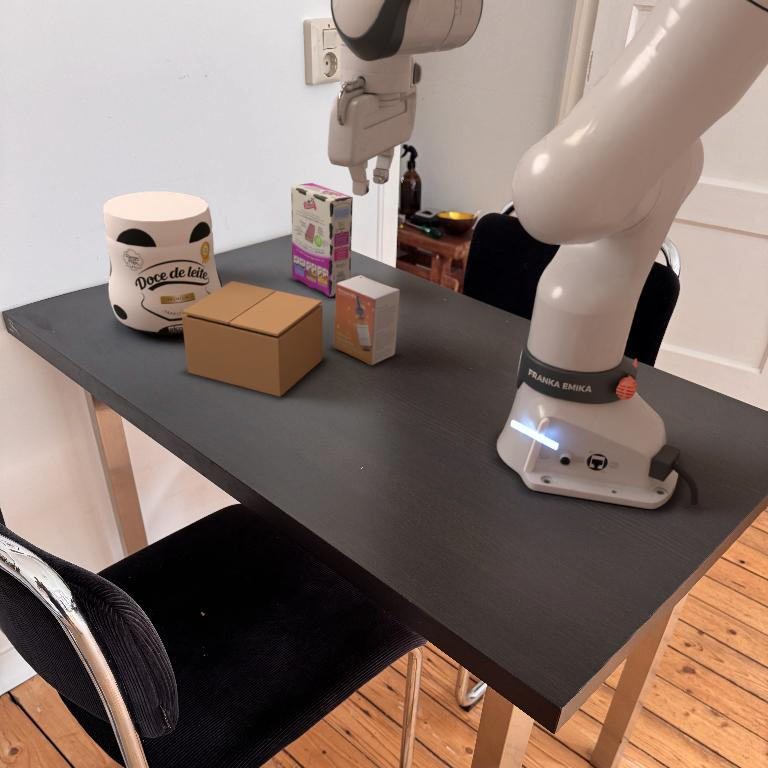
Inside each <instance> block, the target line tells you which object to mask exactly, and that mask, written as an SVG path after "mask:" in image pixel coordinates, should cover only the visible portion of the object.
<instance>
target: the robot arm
mask: <svg viewBox="0 0 768 768" xmlns="http://www.w3.org/2000/svg"><path fill="white" fill-rule="evenodd" d="M483 9H484V0H330V12H331V18H332V21H333V24H334V27H335V30H336V32H337V34H338V36H339V37H340V62H339V63H340V65H339V66H340V70H339V71H340V72H339V73H340V74H339V86H340V87H341V89H340V91H339V93H338V94H337V95H336V97H335V98H334V99H333V101H332V103H331V107H330V111H329V112H330V113H329V122H328V136H327V140H328V141H327V157H328V160H329V162H330V164H331V165H333V166H338V167H343V168H348V172H349V174H350V178H351V181H352V188H351V189H352V190H351V191H352V194H353V195H354V196H360V197H363V196H365V195H367V194H368V193H369V192H370V179H368V176H367V169H368V166H369V161H370V160H372V159H374V158H376V163H375V168H374V169H372V181H373V183H374V184H376V185H377V184H378V185H385V184H387V183H388V182H389V180H390V169H391V166H392V162H393V160H394V156H395V148H396V147H398V146H400V145H402V144H404V143H405V142H408V141H409V140H411V137H412V134H413V131H414V128H415V122H416V121H415V120H416V115H417V106H418V105H417V104H418V87H417V85H419V84H421V82H422V79H423V66H422V64H420V62H418V61H417V60H415V58H414V57H413V55H420V54H421V55H422V54H423V55H424V54H429V53H430V54H431V53H439V52H441V53H442V52H448V51H452V50H454V49H457V48H458V49H459V48H461V47H463V46H465V45H467V44H468V42H469V41H470V40H471V39H472V38H473V37H474V35H475V33H476V31H477V30H478V27H479V24H480V21H481V19H482V16H483V15H482V14H483ZM767 66H768V0H657V1H656V3H655V4H654V6H653V7H652V9H651V11H650V12H649V14H648V16H646V18H645V20H644V22H643V23H642V25H641V26H640V27H639V29H638V30H637V32H636V33H635V34H634V36H633V37H632V39H630V41H629V43H627V45H626V46H625V47H624V48H623V50H622V51H621V53H619V54H618V55H617V57H616V58H615V59H614V60H613V62H612V63H611V64H610V65H609V66H608V67H607V68H606V69H605V71H604V72H603V73H602V74H601V75H600V76H599V77H598V78H597V80H596V81H595V82H594V83H593V84H591V86H590V88H589V89H588V90H587V91H586V92H585V94H583V96H582V97H581V98H580V99H579V100H578V101H577V103H576V104H575V105H574V106H573V107H572V108H571V109H570V111H569V112H568V113H567V114H566V115H565V116H564V117H563V119H562V120H561V121H560V122H559V123H558V124H557V125H556V126H555V127H554V128H552V129H551V130H550V132H549V133H547V134H546V135H545V136H543V137H542V138H541V139H540V140H538V141H537V142H536V143H535V144H533V145H532V146H531V147H529V148H528V150H526V151H525V152H524V154H523V155H522V157H521V158H520V160H519V161H518V164H517V165H516V168H515V171H514V175H513V178H512V183H511V184H512V185H511V198H512V199H511V200H512V205H513V208H514V212H515V215H516V217H517V219H518V221H519V223H520V225H521V226H522V228H523V229H524V230H525V231H526V232H527V234H529V235H530V236H531V237H532V238H534V239H535V240H536V241H538V242H541V243H544V244H548V245H556V246H559V248H558V250H557V252H556V253H555V255H554V257H553V258H552V259H551V261H550V262H549V263H548V264H547V266H546V267H545V268H544V270H543V272H542V274H541V275H540V278H539V280H538V283H537V286H536V293H535V299H534V302H533V303H534V304H533V309H532V315H531V321H530V325H529V326H530V327H529V332H528V338H527V339H526V341H525V343H523V346H522V349H521V352H520V357H519V362H518V367H517V373H516V388H517V389H516V394H515V397H514V399H513V400H514V401H513V403H512V407H511V410H510V413H509V414H508V416H507V417H508V418H507V420H506V422H505V424H504V427H503V429H502V431H501V432H500V434H499V436H498V438H497V441H496V451H497V454H498V456H499V457H500V459H501V461H503V462H504V463H505V464H506V465H507V466H508V467H510V468H511V469H512V470H513V471H514V472H516V473H517V474H518V475H519V476H520V478H521V479H522V481H523V483H524V485H525V486H526V487H527V488H528V489H530V490H532V491H535V492H539V493H547V494H552V495H558V496H564V497H571V498H578V499H584V500H590V501H597V502H603V503H610V504H616V505H620V506H621V505H622V506H627V507H633V508H639V509H646V510H647V509H648V510H655V509H657V508H660V507H662V506H664V505H665V504H666V503H667V502H668V501H669V500H670V499H671V497H672V496H673V495H674V493H675V490H676V486H677V483H678V477H679V476H680V478H682V479H683V480H684V481H685V483H686V484H687V485H688V488H689V492H690V493H689V494H690V495H689V498H690V499H689V500H690V501H689V502H690V503H689V504H690V506H693V507H694V506H698V505H699V489H698V485H697V483H696V482H695V480H694V478H693V477H692V475H690V474H689V472H687V470H685V469H684V468H683V467H682V466H681V465H679V463H678V461H679V458H680V456H681V453H682V450H681V449H680V448H677V447H674V446H671V445H669V444H667V433H666V426H665V422H664V420H663V419H662V417H661V416H660V415H659V413H657V411H655V410H654V408H652V407H651V406H650V405H649V404H648V403H647V402H646V401H645V400H644V399H643V398H642V396H640V395H639V393H638V392H637V391H636V390H637V387H638V383H637V377H638V372H639V371H638V359H637V358H634V360H633V362H631V361H630V360H629V358H628V357H627V356H626V355H625V354H624V353H625V350H626V346H627V341H628V339H629V335H630V331H631V327H632V324H633V320H634V317H635V312H636V310H637V306H638V302H639V299H640V296H641V294H642V291H643V288H644V286H645V284H646V281H647V279H648V276H649V274H650V272H651V270H652V268H653V265H654V264H655V262H656V259H657V258H658V256H659V253H660V251H661V249H662V247H663V245H664V243H665V240H666V238H667V236H668V234H669V232H670V229H671V227H672V225H673V223H674V221H675V220H676V219H675V218H676V217H677V215H678V213H679V211H680V210H681V208H682V206H683V204H684V203H685V202H686V200H687V199H688V197H689V195H690V194H691V193H692V192H693V190H694V189H695V188H696V186H697V184H698V183H699V180H700V178H701V176H702V173H703V169H704V162H705V153H704V152H705V151H704V146H703V142H702V139H701V137H702V136H703V135H704V134H705V133H706V132H707V131H708V130H709V129H710V128H711V127H712V126H713V125H715V123H717V122H718V121H719V120H720V119H722V118H723V117H724V116H725V115H727V114H728V113H729V112H730V111H732V109H733V108H735V106H736V105H738V103H739V102H740V101H741V99H742V98H743V97H744V96H745V95H746V93H747V92H748V91H749V89H750V88H751V87H752V86H753V84H754V83H755V82H756V80H757V79H758V78H759V76H760V75H761V74H762V72H763V71H764V70H765V69H766V68H767Z"/></svg>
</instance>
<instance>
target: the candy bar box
mask: <svg viewBox="0 0 768 768" xmlns="http://www.w3.org/2000/svg"><path fill="white" fill-rule="evenodd" d="M290 193H291V195H290V196H291V255H292V256H291V261H292V263H291V264H292V266H291V267H292V268H291V269H292V280H293V281H296V282H298V283H300V284H301V285H303V286H306V287H308V288H310V289H312V290H314V291H317V292H319V293H321V294H322V295H325V296H327V297H329V298H333V297H336V283H339V282H342V281H345V280H348V279H350V278H351V269H352V267H351V265H352V241H353V240H352V238H353V237H352V236H353V233H352V232H353V204H354V202H353V199H354V197H353V196H350V195H347V194H345V193H342V192H339V191H336V190H333V189H330V188H328V187H325V186H323V185H319V184H316V183H314V182H308V183H303V184H302V183H301V184H297V185H296V184H295V185H292V186H290Z"/></svg>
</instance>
